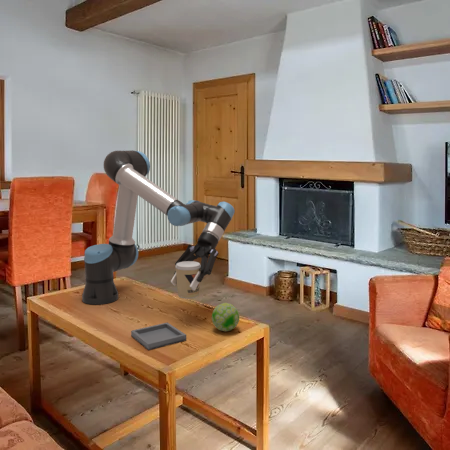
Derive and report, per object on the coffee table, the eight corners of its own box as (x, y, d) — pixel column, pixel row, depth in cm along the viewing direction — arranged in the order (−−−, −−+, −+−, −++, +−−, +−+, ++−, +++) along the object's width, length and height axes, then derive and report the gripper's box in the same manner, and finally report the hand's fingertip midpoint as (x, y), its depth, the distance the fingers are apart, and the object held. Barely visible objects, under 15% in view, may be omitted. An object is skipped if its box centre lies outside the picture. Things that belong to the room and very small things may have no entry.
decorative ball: (222, 323, 171) (222, 297, 170) (244, 329, 166) (244, 302, 164) (206, 331, 163) (205, 304, 162) (229, 338, 158) (229, 310, 156)
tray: (131, 336, 159) (131, 330, 159) (167, 327, 167) (167, 322, 167) (148, 350, 148) (148, 344, 148) (186, 340, 156) (186, 334, 155)
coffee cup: (188, 301, 164) (187, 268, 162) (170, 295, 170) (170, 264, 168) (206, 295, 171) (206, 263, 169) (188, 290, 177) (188, 259, 175)
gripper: (236, 246, 173) (209, 297, 163) (194, 239, 186) (166, 286, 176) (228, 234, 168) (200, 286, 158) (185, 228, 181) (156, 275, 171)
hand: (182, 286), depth 167 cm, fingers closed on coffee cup, 9 cm apart
